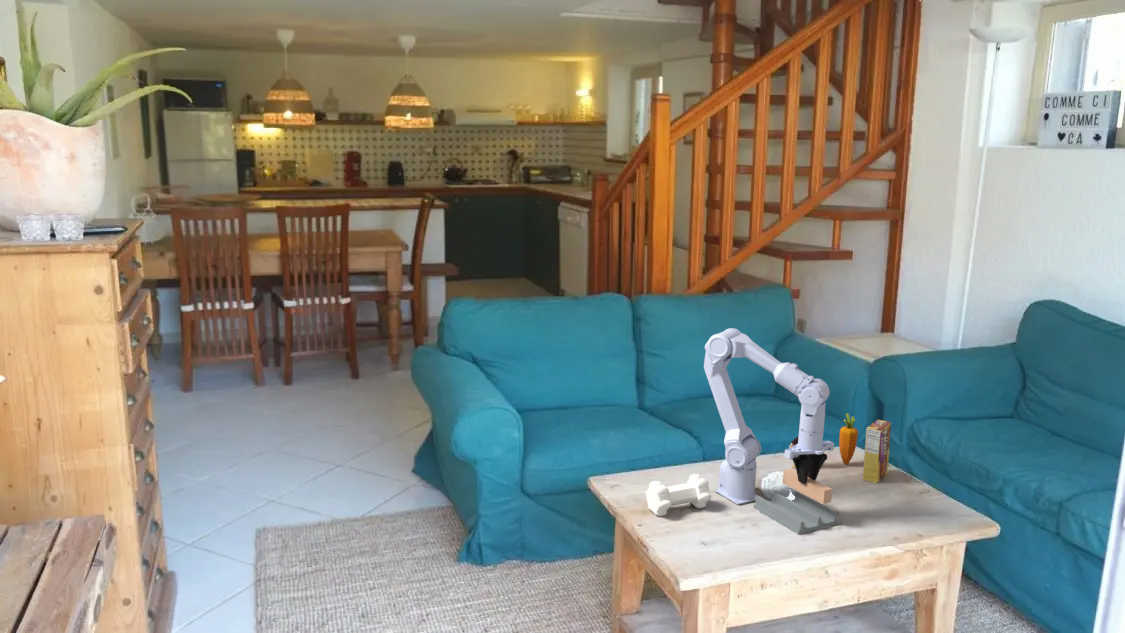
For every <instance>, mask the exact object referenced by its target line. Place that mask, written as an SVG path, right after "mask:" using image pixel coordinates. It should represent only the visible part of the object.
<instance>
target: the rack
mask: <svg viewBox="0 0 1125 633" xmlns="http://www.w3.org/2000/svg"><path fill="white" fill-rule="evenodd" d="M791 492H792V494H793V495H794V496H795V499H794V500H792V501H791V500H789V499H787V498H785V497H786V496H783V495H781V494H780V493H777V492H772V494H771V495H772V497H771V500H766V499H765V498H763V497H762V496H760V495H758V497H756V501H754V502H755V504H753V509H754V508H755V509H754V510H756V509H757V510H759V511H760V512H759V511H758V512H759V513H761V512H762V513H764V514H765V515H764V514H763V515H764V516H766V515H767V516H766V517H768V518H769V517H770V519H771V518H772V519H771V520H772V521H774V520H775V521H774V522H776V523H778V524H780V526H783V527H785V528H786V529H788V530H790V531H792V532H794V534H797V535H801V534H805V533H809V532H813V531H816V530H817V531H818V530H821V529H824V528H827V527H831V526H836V525H839V524H840V522H839V521H840V519H839V517H838V516H839V512H837V511H836V510H834V509H832V508H830V507H828V506H826V505H825V504H822V503H820V502H818V501H816V500H814V499H812V498H810V497H808V496H806V495H804V494H802V493H800V492H799V491H797V490H795V489H794V490H791ZM759 496H760V497H759ZM761 497H762V498H761ZM757 510H756V511H757ZM762 513H761V514H762Z"/></svg>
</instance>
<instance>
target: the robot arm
mask: <svg viewBox="0 0 1125 633" xmlns="http://www.w3.org/2000/svg"><path fill="white" fill-rule="evenodd" d="M704 350H705V353H704V354H705V355H704V361H703V371H704V372H705V374H706V378H707V380H708V381H707V382H708V384H709V387H710V390H711V392H712V393H711V394H712V395H713V399H714V401H715V404H716V408H717V411H718V413H719V416H720V419H721V422H722V425H723V428H724V431H725V435H724V440H723V444H724V446H725V452H724V456H725V459H724V460H723V461H722V463H721V464H720V466H719V470H718V471H719V472H718V473H719V474H718V486H717V487H718V488H716V489H715V492H716V493H717V494H719V495H721V496H723V497H725V498H726V499H728V500H730V501H731V502H733V503H734V504H736V505H742V504H747V503H752V502H756V497H758V496H759V497H761V498H763V497H762V496H760V495H758V494H756V480H757V478H756V477H757V465H758V463H757V457H759V455H760V454H761V451H762V446H761V442H760V441H759V439H758V438H756V436H755V434H754V432H753V430H752V429H751V428H750V427H748V426H747V424H746V422H745V419H744V417H743V413H742V411H741V408H740V405H739V401H738V398H737V396H736V393H735V390H734V386H733V385H732V382H731V378H730V376H729V373H728V370H727V367H728V365H729V364H730V362H731V361H732V359H735V358H736V359H738V358H739V359H740V358H747V359H748V360H750V361H751V362H753V363H754V364H756V365H758V366H760V367H761V368H763V369H764V370H765V371H768V372H770V373H771V374H773V377H774V381H775V383H777V384H779V385H780V386H782V387H783V388H784V389H786V390H788V391H789V392H790V393H792V394H793V395H795V396H796V397H798V401H799V403H800V404H801V406H800V407H801V409H800V415H799V416H800V417H799V427H798V429H799V430H798V436H799V438H798V444H795V445H794V446H793V447H791V448H789V447H788V448H786V449H784V458H786V459H788V460H792V461H793V464H795V467H796V468H795V471H797V476H798V481H799V482H801V483H803V484H806V483H807V479H808V477H809V478H811V479H813V480H815V481H817V478H818V475H819V472H820V470H821V468H822V466H824V464H825V462H826V460H827V459H828V455H827V453H825V452H826V451H830V452H831V451H832V452H833V451H834V449H835V442H833V441H830V440H823V439H824V430H825V417H826V403H827V402H826V401H827V400H828V398H829V397H830V393H831V392H830V388H829V385H828V384H827V383H826V382H825V381H824V380H823V379H821V378H815V377H814V376H813V375H809V374H807V373H806V372H804V371H802V370H801V369H799V368H798V367H799V365H798V364H796V363H794V362H793V363H791V362H781V361H779V360H778V359H777V358H775V357H774V355H772V354H770V353H769V352H767V351H766V350H765V349H764V348H762V347H761V346H760V345H758V344H757V343H756V342H754V341H753V340H752V339H751V338H750V337H749V336H748V335H747V334H746V333H742V332H741V331H740V330H738V329H737V328H733V327H730V328H727V329H724V330H723V331H722V332H718V333H715V334H713V335H712V336H710V337H709V339H708V340H707V341H706V343H705V345H704Z"/></svg>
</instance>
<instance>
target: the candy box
mask: <svg viewBox="0 0 1125 633" xmlns="http://www.w3.org/2000/svg"><path fill="white" fill-rule="evenodd" d="M891 428H892V422H891V421H886V420H880V419H877V420H875V421H874V422H873V423H871V424H870V425H869V426H867V427H866V430H865V431H866V432H865V442H864V443H865V444H864V445H865V446H864V455H863V456H864V459H863V472H862V480H863V481H865V480H867V482H869V481H871V482H870V483H873V482H875V483H874V484H878V483H879V482H880V481H881V480H882V479H884V477H886V475H888V472H889V471H888V469H889V459H890V458H889V456H890V444H891V443H890V442H891ZM877 482H878V483H877Z"/></svg>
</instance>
